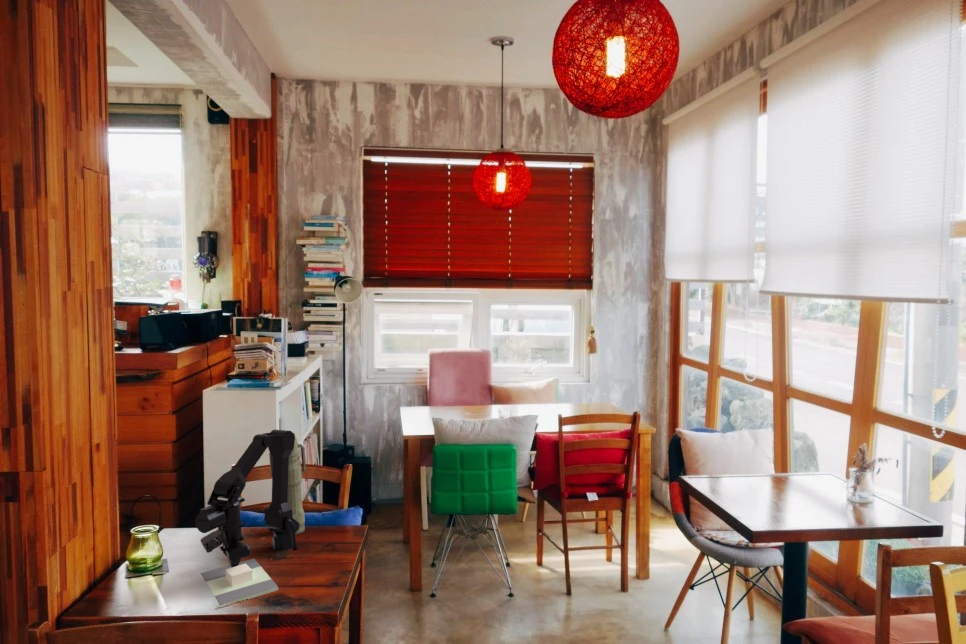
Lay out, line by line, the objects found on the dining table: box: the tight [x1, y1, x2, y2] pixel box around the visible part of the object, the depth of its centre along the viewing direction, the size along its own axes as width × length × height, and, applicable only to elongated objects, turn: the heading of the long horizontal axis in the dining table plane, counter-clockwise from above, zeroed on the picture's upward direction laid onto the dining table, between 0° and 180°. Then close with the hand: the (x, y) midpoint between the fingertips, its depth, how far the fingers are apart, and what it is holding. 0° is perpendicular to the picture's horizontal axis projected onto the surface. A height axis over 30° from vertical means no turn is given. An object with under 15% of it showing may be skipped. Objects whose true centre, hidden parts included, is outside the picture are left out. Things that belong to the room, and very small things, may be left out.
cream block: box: [225, 563, 253, 586], centre depth 200 cm, size 6×6×3 cm
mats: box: [200, 558, 279, 604], centre depth 200 cm, size 16×24×1 cm, turn 34°
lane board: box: [205, 565, 279, 607], centre depth 200 cm, size 16×24×1 cm, turn 34°
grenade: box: [268, 431, 307, 536], centre depth 237 cm, size 9×12×35 cm
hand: (234, 570), depth 203 cm, fingers closed
